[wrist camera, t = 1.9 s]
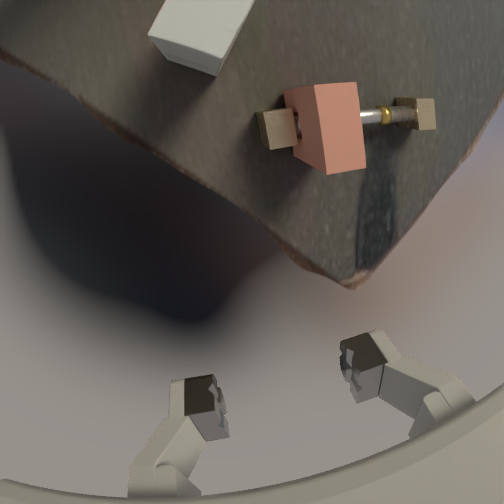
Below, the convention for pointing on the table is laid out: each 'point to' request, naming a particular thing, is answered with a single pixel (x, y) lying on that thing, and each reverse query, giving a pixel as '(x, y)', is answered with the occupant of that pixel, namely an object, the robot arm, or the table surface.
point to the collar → (328, 126)
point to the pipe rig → (405, 113)
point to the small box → (199, 31)
